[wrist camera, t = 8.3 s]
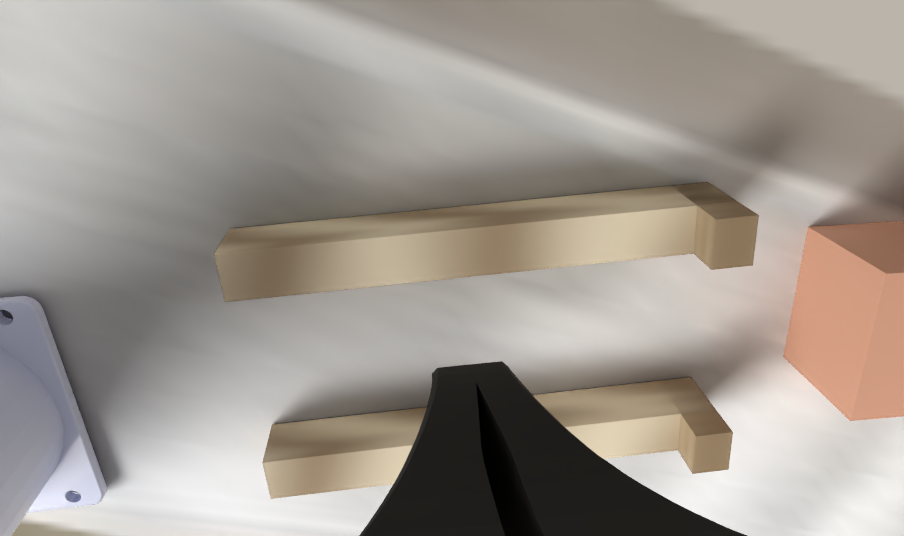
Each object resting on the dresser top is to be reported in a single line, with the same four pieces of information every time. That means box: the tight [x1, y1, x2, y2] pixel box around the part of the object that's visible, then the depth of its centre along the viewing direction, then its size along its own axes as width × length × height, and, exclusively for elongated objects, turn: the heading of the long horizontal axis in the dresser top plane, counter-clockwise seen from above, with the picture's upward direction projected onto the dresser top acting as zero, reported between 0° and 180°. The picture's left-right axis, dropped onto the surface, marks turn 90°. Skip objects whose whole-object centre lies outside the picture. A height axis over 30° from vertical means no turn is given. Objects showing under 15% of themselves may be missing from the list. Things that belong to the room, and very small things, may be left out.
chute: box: [214, 182, 759, 499], centre depth 21 cm, size 15×9×3 cm, turn 94°
